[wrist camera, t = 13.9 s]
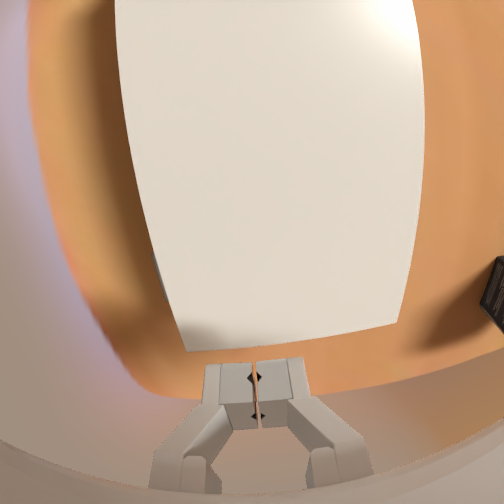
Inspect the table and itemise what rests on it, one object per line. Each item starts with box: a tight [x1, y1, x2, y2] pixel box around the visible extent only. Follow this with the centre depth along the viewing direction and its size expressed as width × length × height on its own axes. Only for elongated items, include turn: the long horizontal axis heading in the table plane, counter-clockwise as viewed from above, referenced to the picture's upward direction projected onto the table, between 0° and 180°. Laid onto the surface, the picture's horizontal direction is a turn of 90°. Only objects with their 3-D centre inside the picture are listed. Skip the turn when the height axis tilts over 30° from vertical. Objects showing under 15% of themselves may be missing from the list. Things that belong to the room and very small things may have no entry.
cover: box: [115, 0, 425, 352], centre depth 10 cm, size 24×12×1 cm, turn 6°
